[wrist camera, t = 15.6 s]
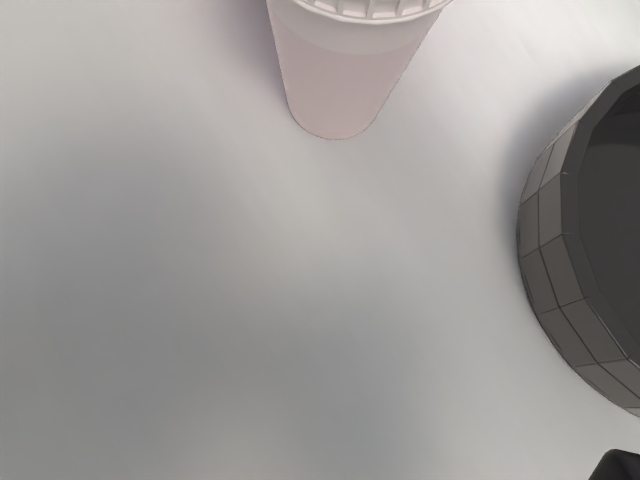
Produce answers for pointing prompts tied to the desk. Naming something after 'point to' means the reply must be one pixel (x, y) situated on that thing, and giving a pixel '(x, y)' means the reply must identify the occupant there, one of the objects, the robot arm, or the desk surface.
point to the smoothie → (345, 57)
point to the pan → (589, 241)
